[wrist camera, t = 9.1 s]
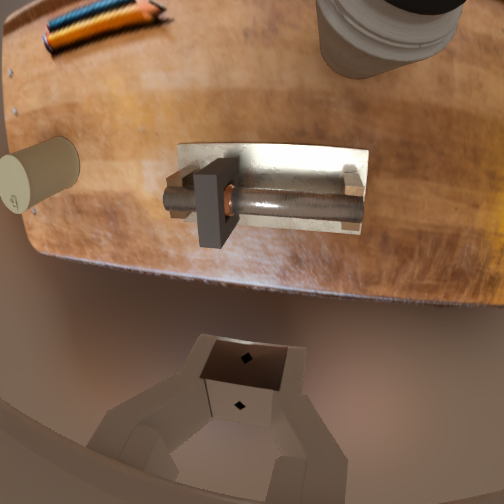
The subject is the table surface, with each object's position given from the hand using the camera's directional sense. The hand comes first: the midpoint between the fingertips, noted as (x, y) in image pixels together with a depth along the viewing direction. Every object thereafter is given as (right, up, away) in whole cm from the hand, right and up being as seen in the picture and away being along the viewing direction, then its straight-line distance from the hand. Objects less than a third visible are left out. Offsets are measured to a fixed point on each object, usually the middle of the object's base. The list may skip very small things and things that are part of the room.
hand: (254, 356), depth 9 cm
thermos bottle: (+12, +27, +22) cm, 36 cm away
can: (-32, +18, +37) cm, 52 cm away
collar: (-3, +11, +31) cm, 32 cm away
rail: (+2, +11, +32) cm, 34 cm away
